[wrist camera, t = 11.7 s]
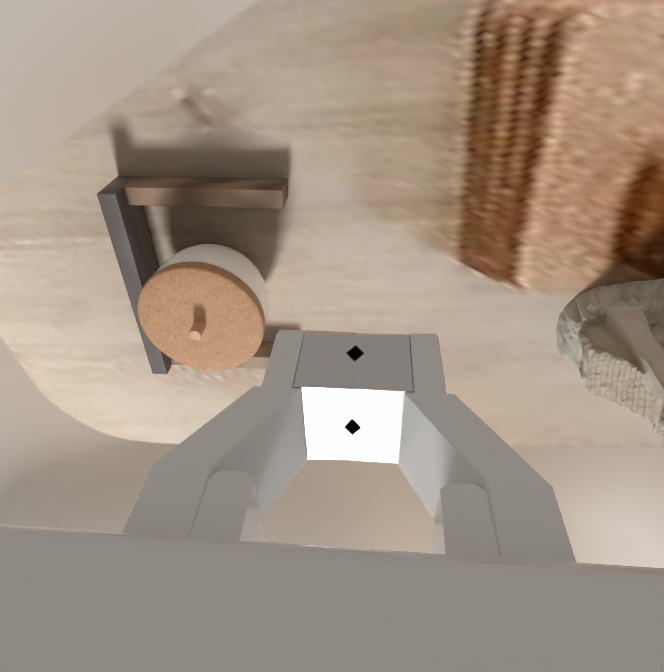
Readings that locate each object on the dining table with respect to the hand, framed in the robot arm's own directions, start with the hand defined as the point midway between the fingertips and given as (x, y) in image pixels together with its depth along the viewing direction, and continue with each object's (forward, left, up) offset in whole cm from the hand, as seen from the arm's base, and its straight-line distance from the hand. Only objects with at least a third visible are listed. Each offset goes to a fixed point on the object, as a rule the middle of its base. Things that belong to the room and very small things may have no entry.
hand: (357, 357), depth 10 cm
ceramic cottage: (-27, +24, -33) cm, 49 cm away
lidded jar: (+13, +18, -33) cm, 40 cm away
